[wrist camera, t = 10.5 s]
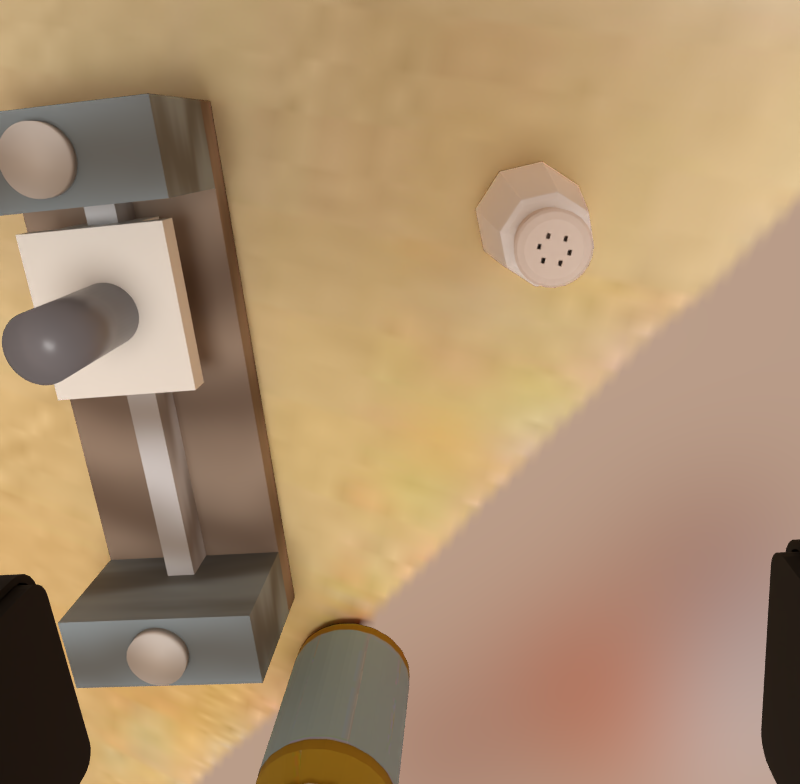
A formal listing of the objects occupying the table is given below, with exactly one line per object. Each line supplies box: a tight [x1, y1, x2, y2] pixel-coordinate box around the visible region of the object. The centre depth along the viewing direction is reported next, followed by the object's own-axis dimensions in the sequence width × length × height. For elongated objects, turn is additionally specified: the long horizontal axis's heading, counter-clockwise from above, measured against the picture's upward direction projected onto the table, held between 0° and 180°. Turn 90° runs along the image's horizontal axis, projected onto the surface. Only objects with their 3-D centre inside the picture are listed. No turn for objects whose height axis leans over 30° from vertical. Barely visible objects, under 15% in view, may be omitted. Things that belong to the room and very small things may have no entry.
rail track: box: [0, 94, 295, 688], centre depth 38 cm, size 28×10×8 cm, turn 6°
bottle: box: [256, 624, 409, 784], centre depth 40 cm, size 7×7×15 cm
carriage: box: [2, 216, 204, 400], centre depth 34 cm, size 8×7×9 cm
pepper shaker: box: [476, 161, 594, 288], centre depth 32 cm, size 5×5×11 cm
